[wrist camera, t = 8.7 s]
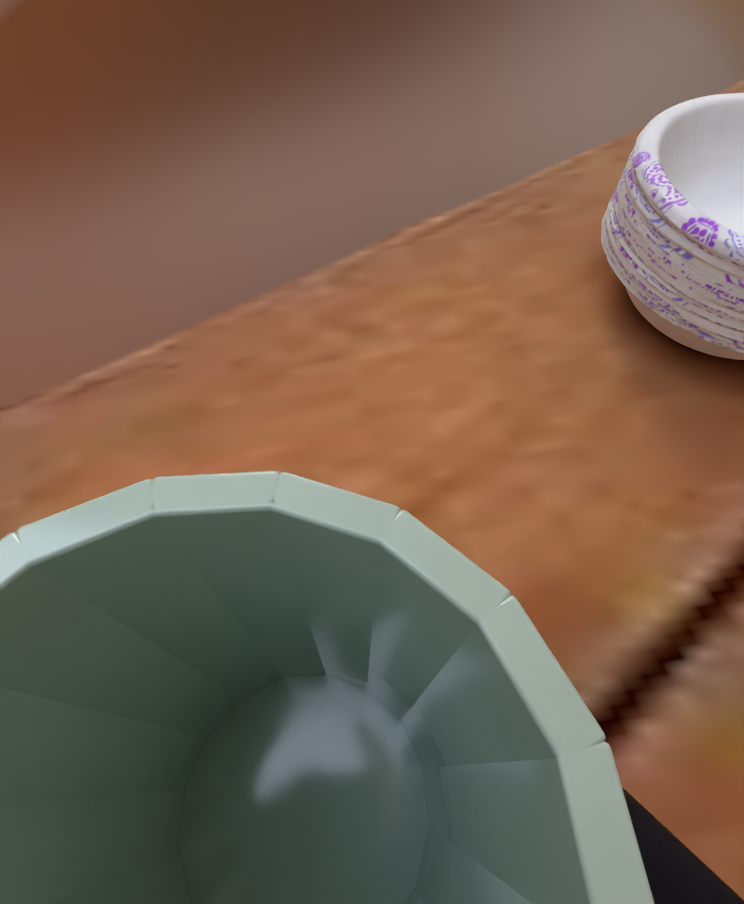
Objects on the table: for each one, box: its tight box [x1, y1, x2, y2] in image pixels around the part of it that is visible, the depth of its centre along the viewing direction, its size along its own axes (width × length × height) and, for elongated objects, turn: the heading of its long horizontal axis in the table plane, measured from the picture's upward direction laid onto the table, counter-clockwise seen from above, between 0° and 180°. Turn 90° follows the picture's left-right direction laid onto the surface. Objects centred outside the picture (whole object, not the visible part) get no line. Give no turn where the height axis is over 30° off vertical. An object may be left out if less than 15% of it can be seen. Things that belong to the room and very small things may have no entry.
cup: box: [0, 471, 654, 904], centre depth 8 cm, size 6×6×10 cm
